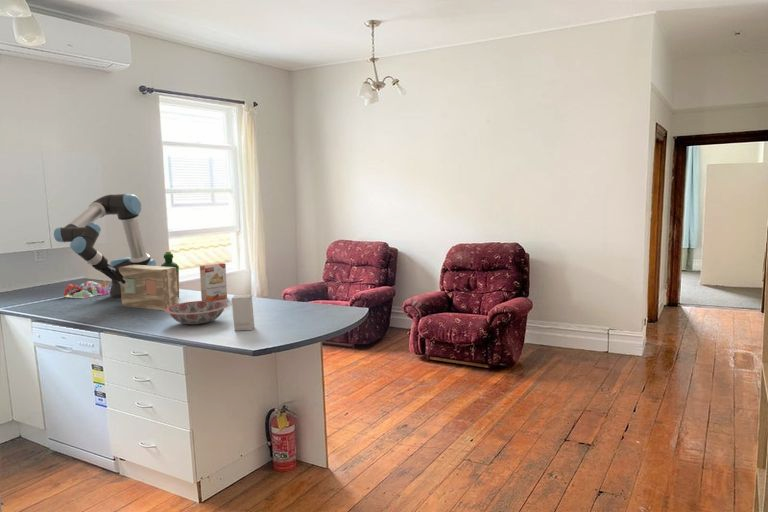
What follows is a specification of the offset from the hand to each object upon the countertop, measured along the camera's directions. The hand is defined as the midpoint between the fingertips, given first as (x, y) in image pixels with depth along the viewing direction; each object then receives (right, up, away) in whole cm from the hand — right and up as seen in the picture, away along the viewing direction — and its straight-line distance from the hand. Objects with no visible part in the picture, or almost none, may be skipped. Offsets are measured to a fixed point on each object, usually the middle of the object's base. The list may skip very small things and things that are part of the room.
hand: (127, 286), depth 313 cm
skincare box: (+78, -17, -53) cm, 95 cm away
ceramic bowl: (+51, -16, -38) cm, 66 cm away
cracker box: (+43, -9, +18) cm, 48 cm away
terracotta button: (+16, -4, -3) cm, 17 cm away
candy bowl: (-44, -8, +45) cm, 63 cm away
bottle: (+15, -9, +26) cm, 31 cm away
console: (+11, -11, +4) cm, 16 cm away
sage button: (+1, -4, +3) cm, 5 cm away
